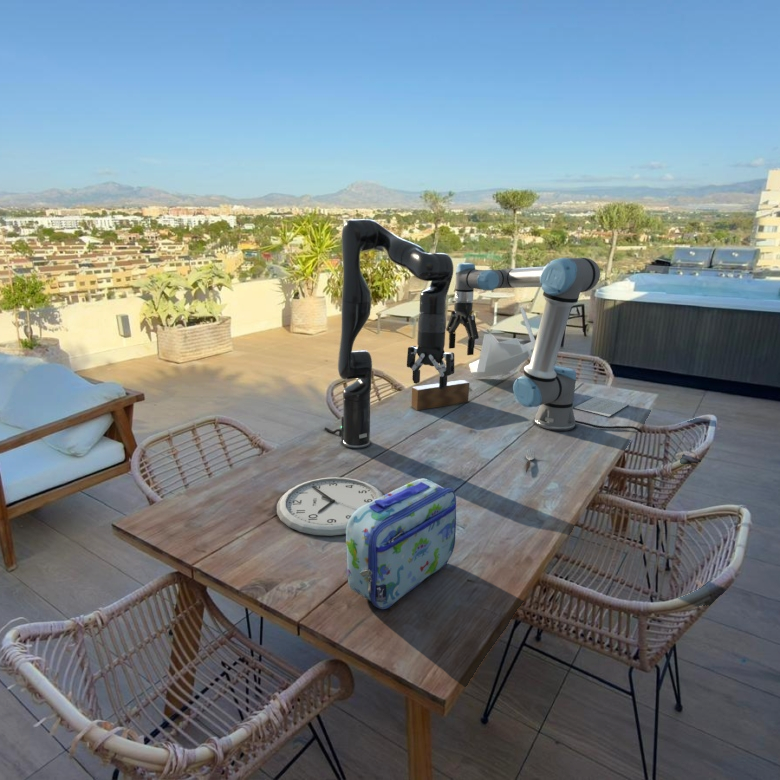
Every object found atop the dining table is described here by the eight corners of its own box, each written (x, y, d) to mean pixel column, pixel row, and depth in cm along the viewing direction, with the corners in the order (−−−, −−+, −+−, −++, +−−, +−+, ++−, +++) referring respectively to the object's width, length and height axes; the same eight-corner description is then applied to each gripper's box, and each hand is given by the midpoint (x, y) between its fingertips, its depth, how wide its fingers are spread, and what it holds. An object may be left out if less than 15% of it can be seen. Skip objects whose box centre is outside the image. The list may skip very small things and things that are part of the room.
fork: (521, 473, 163) (522, 467, 162) (527, 453, 177) (527, 448, 177) (530, 474, 162) (530, 468, 162) (535, 454, 176) (535, 449, 176)
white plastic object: (490, 419, 265) (470, 397, 240) (471, 347, 287) (451, 319, 262) (561, 395, 253) (548, 369, 228) (536, 321, 275) (521, 290, 250)
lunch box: (375, 622, 100) (376, 527, 94) (339, 595, 108) (338, 505, 101) (459, 565, 118) (465, 481, 112) (424, 545, 125) (427, 465, 119)
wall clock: (392, 527, 129) (268, 531, 127) (391, 533, 130) (269, 537, 127) (383, 473, 158) (282, 475, 155) (383, 478, 158) (282, 480, 156)
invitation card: (608, 416, 214) (573, 407, 224) (608, 416, 214) (573, 408, 224) (628, 404, 229) (594, 396, 238) (628, 405, 229) (594, 397, 238)
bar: (461, 398, 234) (463, 379, 231) (468, 402, 230) (469, 382, 227) (411, 407, 222) (412, 386, 219) (417, 410, 218) (417, 390, 215)
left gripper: (402, 327, 143) (400, 384, 148) (447, 334, 135) (444, 394, 140) (417, 323, 149) (415, 378, 154) (461, 330, 141) (458, 387, 146)
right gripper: (439, 298, 226) (437, 346, 232) (474, 306, 205) (470, 358, 211) (454, 297, 229) (451, 344, 235) (489, 305, 208) (485, 356, 214)
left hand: (429, 385), depth 147 cm, fingers open, 8 cm apart
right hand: (460, 351), depth 223 cm, fingers open, 13 cm apart
